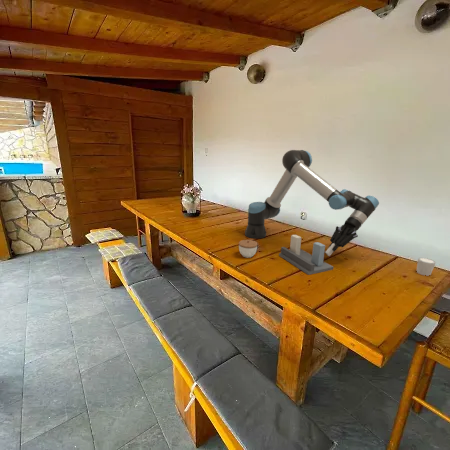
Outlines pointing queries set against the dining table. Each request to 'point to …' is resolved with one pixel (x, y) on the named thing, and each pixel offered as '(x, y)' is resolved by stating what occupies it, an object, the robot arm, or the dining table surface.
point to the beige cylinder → (425, 266)
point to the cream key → (295, 244)
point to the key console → (303, 261)
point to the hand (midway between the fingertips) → (327, 254)
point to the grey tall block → (318, 254)
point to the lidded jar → (248, 248)
